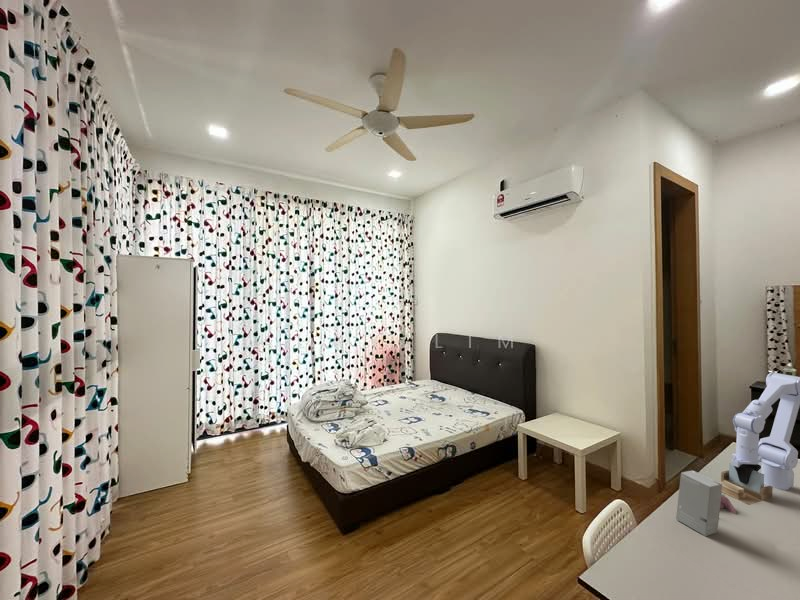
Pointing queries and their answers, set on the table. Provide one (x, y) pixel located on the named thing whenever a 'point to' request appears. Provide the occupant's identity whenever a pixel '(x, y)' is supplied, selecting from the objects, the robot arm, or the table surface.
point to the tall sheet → (754, 481)
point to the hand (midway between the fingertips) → (745, 482)
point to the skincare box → (699, 502)
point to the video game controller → (727, 504)
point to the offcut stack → (732, 490)
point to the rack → (749, 491)
